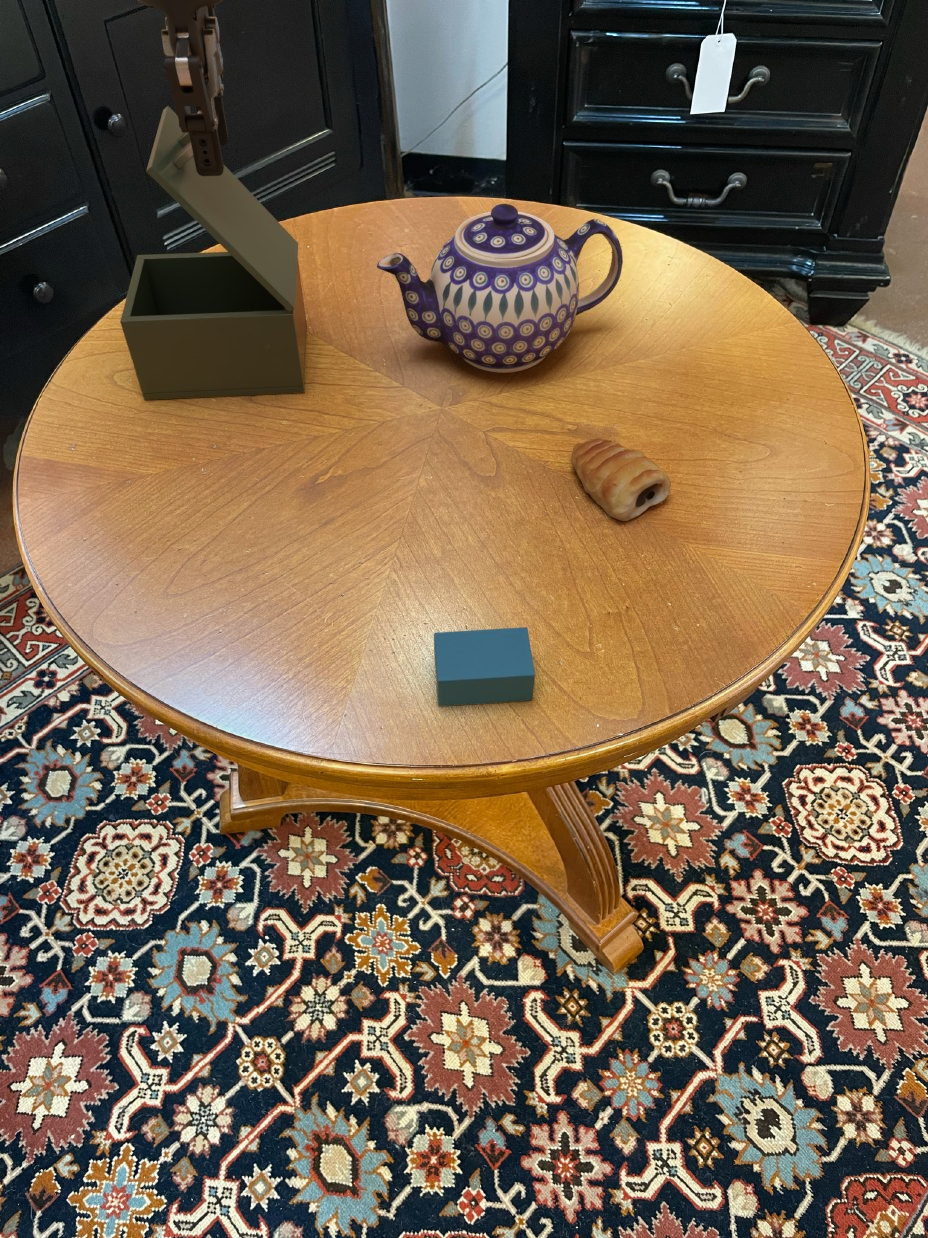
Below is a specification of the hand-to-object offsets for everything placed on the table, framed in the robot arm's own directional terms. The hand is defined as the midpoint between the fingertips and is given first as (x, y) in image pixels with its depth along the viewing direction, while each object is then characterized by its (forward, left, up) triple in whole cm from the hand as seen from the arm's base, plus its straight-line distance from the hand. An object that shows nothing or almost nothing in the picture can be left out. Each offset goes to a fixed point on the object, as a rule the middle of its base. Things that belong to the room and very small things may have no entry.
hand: (213, 157), depth 82 cm
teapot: (+26, +1, -21) cm, 33 cm away
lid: (0, 0, -5) cm, 5 cm away
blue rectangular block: (+20, -42, -21) cm, 51 cm away
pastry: (+34, -22, -21) cm, 45 cm away
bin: (-2, 0, -21) cm, 21 cm away
